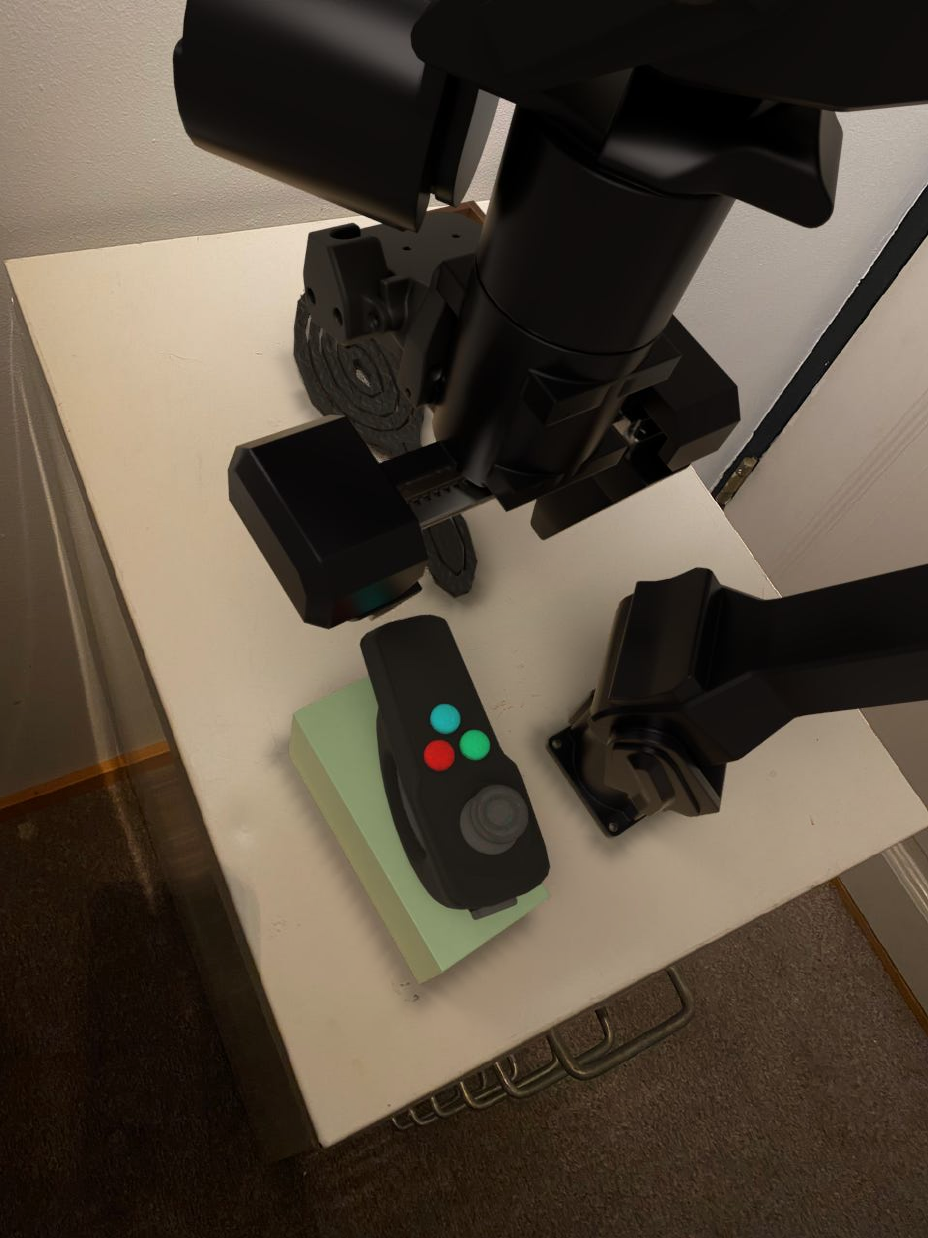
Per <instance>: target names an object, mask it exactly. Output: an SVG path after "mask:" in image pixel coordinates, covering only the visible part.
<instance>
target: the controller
mask: <svg viewBox="0 0 928 1238" xmlns="http://www.w3.org/2000/svg"><path fill="white" fill-rule="evenodd" d="M359 647H360V652H361V655H362V658H363V661H364V665H365V667H366V671H367V674H368V675H369V678H370V681H371V684H372V687H373V691H374V694H375V697H376V701H377V704H378V712H377V719H376V732H377V743H378V753H379V761H380V769H381V774H382V779H383V784H384V789H385V793H386V797H387V800H388V804H389V807H390V811H391V815H392V818H393V822H394V825H395V828H396V830H397V833H398V836H399V838H400V841H401V844H402V846H403V849H404V851H405V854H406V856H407V858H408V860H409V863H410V865H411V866H412V868H413V870H414V872H415V874H416V875H417V877H418V879H419V880H420V882H421V884H422V885H423V886H424V888H425V889H426V891H427V892H428V893H429V894H430V896H431V897H432V898H433V899H434V900H436V901H437V902H438V903H440V904H441V905H443V906H445V907H447V908H451V909H457V910H466V909H468V910H469V912H470V913H471V916H472V918H473V919H474V920H478V919H481V918H484V917H486V916H489V915H492V914H494V913H497V912H500V911H502V910H505V909H507V908H510V907H512V906H515V905H516V904H517V902H518V901H517V898H516V897H518V896H521V895H523V894H526V893H528V892H530V891H531V890H533V889H534V888H536V887H537V886H539V885H540V884H541V883H544V881H545V880H546V879H547V878H548V876H549V874H550V870H551V863H550V858H549V853H548V848H547V845H546V842H545V838H544V837H543V833H542V829H541V827H540V825H539V822H538V819H537V816H536V813H535V810H534V807H533V804H532V802H531V798H530V796H529V793H528V790H527V788H526V784H525V780H524V777H523V776H522V773H521V770H520V769H519V767H518V765H517V763H516V762H515V761H513V759H511V758H510V757H509V756H508V755H507V754H505V752H504V750H503V749H502V747H501V745H500V743H499V740H498V737H497V736H496V733H495V730H494V728H493V726H492V723H491V721H490V719H489V717H488V714H487V711H486V710H485V706H484V705H483V702H482V701H481V698H480V696H479V693H478V691H477V689H476V686H475V684H474V681H473V679H472V677H471V674H470V672H469V670H468V667H467V665H466V663H465V660H464V657H463V656H462V653H461V651H460V648H459V647H458V644H457V641H456V639H455V637H454V634H453V632H452V630H451V627H450V625H449V623H448V621H447V620H446V618H444V617H442V616H439V615H436V614H435V615H434V614H418V615H414V616H409V617H405V618H401V619H397V620H392V621H389V622H386V623H384V624H382V625H379V626H377V627H375V628H374V629H371V630H369V631H367V632H366V633H365V634H364V635H363V636H362V637H361V638H360V641H359Z"/></svg>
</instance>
